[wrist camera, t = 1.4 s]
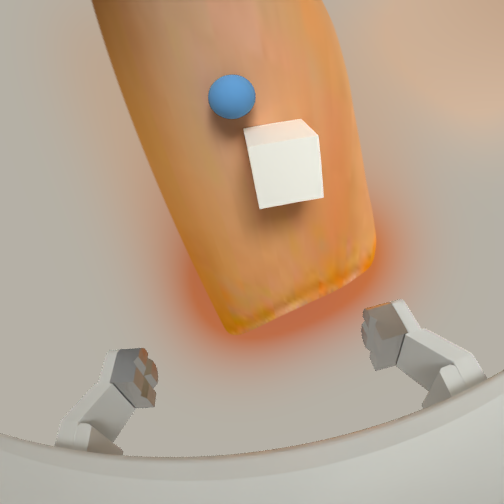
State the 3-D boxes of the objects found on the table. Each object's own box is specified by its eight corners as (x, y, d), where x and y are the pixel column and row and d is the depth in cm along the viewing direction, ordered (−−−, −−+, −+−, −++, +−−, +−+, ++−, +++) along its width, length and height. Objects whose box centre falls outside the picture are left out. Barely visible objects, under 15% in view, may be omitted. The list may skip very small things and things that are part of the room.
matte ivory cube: (243, 128, 34) (247, 147, 28) (300, 118, 34) (318, 135, 28) (253, 180, 39) (259, 209, 32) (307, 170, 38) (323, 197, 32)
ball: (205, 78, 30) (202, 82, 26) (249, 69, 30) (252, 72, 26) (214, 118, 33) (213, 128, 29) (256, 109, 33) (261, 118, 29)
